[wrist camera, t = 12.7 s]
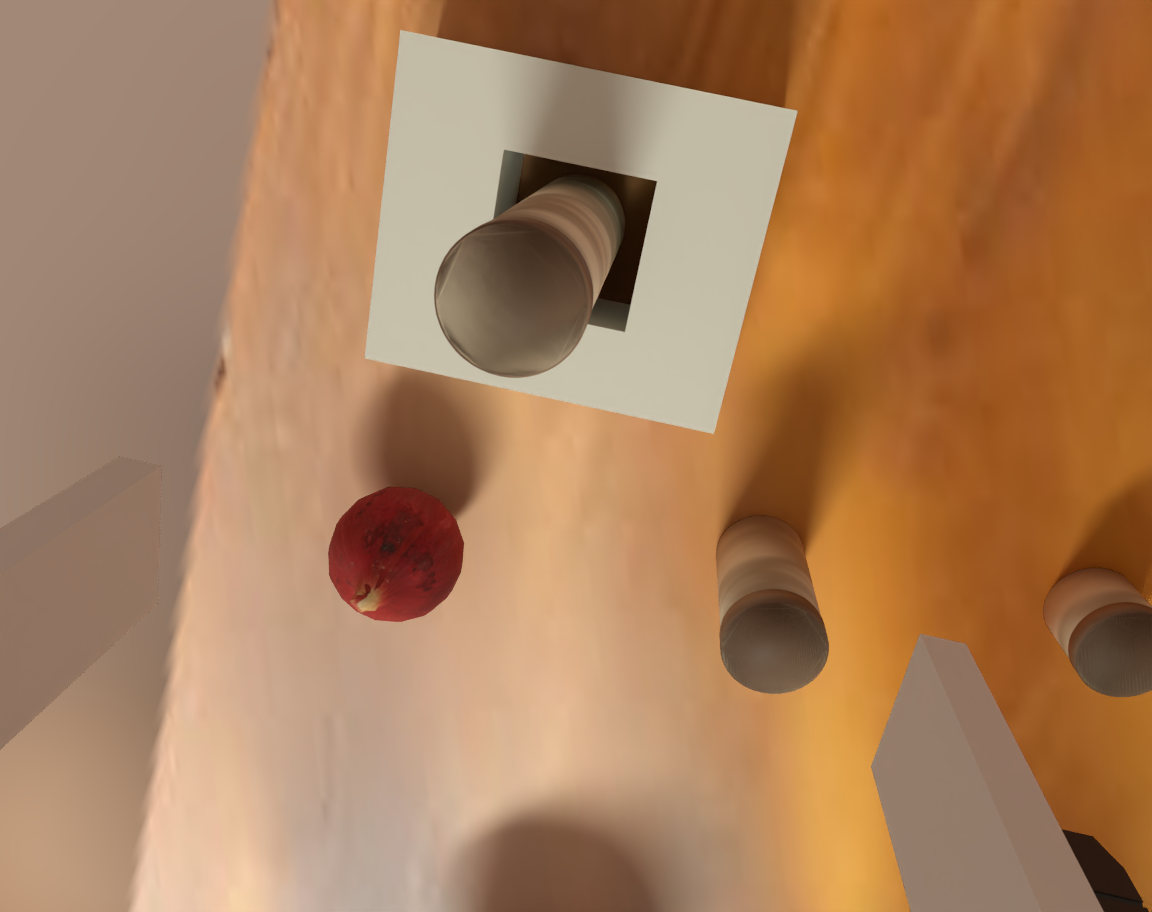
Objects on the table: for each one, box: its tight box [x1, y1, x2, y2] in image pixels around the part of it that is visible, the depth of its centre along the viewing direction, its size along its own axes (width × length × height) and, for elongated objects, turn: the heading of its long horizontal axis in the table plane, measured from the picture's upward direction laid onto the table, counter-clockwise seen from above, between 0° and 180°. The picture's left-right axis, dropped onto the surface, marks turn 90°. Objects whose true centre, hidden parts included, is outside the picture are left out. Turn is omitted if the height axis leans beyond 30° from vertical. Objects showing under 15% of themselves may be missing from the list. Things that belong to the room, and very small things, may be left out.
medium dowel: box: [716, 516, 829, 694], centre depth 40 cm, size 4×4×8 cm
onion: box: [328, 487, 464, 622], centre depth 41 cm, size 6×6×8 cm
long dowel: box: [434, 174, 625, 378], centre depth 32 cm, size 4×4×16 cm
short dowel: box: [1043, 568, 1152, 697], centre depth 41 cm, size 4×4×4 cm
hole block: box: [365, 30, 798, 434], centre depth 37 cm, size 14×12×5 cm
